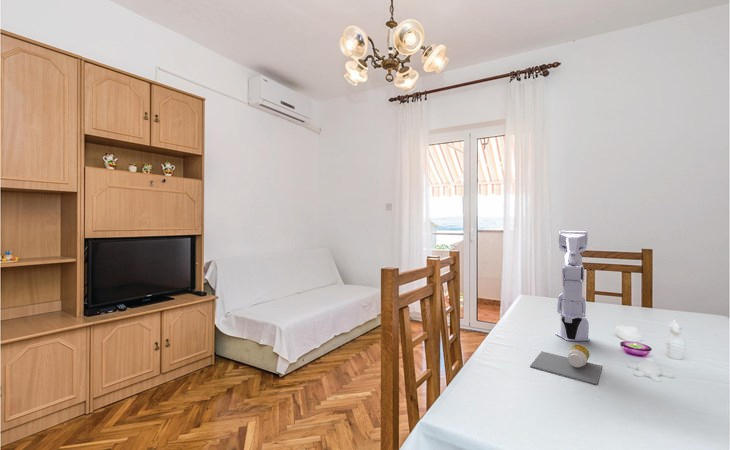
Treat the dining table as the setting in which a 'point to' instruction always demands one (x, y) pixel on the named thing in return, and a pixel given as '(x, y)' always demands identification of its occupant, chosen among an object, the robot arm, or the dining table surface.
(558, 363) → the slate mat
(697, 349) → the dining table surface
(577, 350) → the supplement bottle
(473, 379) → the dining table surface
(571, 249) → the robot arm
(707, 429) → the dining table surface
